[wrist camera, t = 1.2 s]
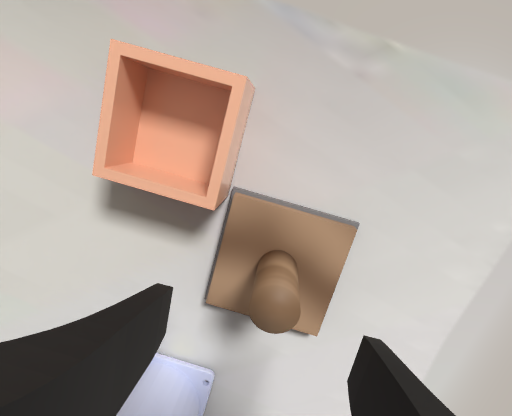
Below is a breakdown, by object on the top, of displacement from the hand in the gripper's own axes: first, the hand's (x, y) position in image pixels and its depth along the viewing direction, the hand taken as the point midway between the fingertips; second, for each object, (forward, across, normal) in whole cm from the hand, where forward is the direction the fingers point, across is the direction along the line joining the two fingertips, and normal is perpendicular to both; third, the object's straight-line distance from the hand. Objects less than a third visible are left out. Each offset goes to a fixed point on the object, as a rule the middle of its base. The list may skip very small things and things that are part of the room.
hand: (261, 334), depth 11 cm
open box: (+10, +7, -6) cm, 14 cm away
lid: (+10, -1, +1) cm, 10 cm away
